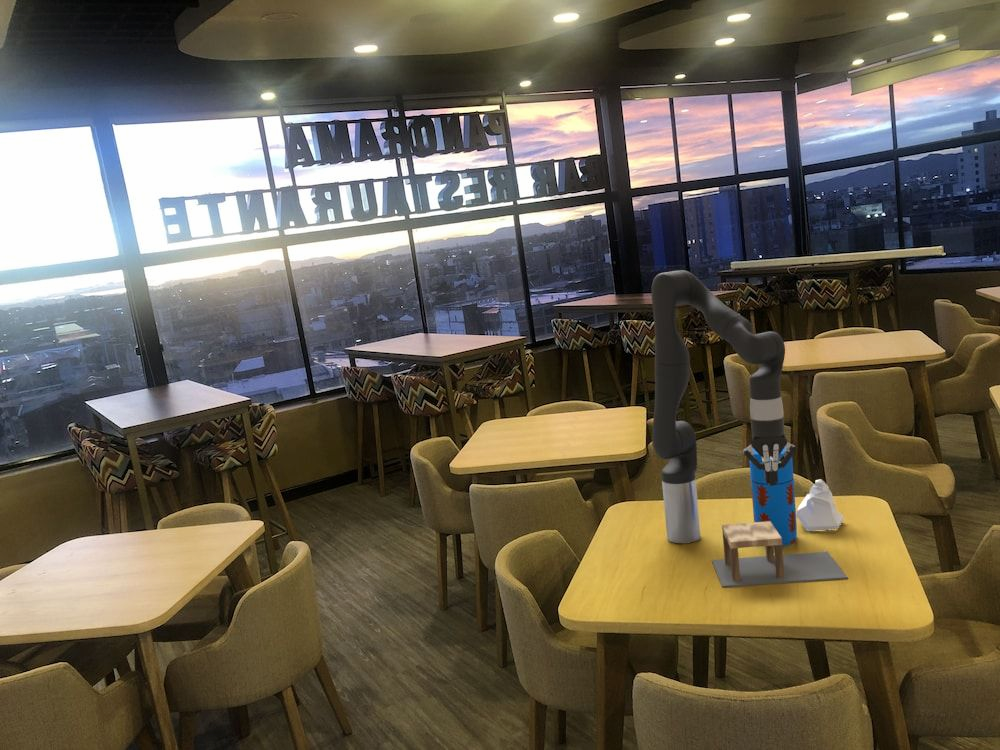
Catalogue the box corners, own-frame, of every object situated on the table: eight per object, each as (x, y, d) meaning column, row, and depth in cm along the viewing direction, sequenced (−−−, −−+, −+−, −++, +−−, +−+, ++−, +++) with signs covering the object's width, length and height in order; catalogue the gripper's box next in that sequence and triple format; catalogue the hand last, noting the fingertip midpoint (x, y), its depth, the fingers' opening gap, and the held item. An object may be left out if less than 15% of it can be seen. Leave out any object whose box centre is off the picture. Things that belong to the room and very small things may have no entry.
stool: (773, 558, 205) (724, 562, 206) (770, 521, 204) (721, 524, 205) (784, 577, 193) (733, 581, 195) (781, 538, 192) (730, 542, 193)
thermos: (784, 549, 211) (777, 457, 207) (747, 541, 219) (740, 452, 215) (804, 536, 218) (799, 447, 214) (769, 529, 226) (762, 442, 222)
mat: (711, 561, 209) (711, 559, 209) (827, 552, 205) (827, 551, 205) (722, 587, 193) (722, 585, 193) (847, 578, 190) (847, 577, 190)
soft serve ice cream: (848, 522, 228) (858, 478, 223) (830, 544, 217) (840, 498, 212) (804, 506, 236) (813, 463, 230) (785, 527, 225) (793, 483, 219)
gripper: (791, 409, 196) (795, 478, 199) (735, 414, 198) (740, 482, 200) (799, 416, 189) (803, 487, 191) (741, 421, 190) (746, 491, 193)
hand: (771, 484), depth 196 cm, fingers closed
